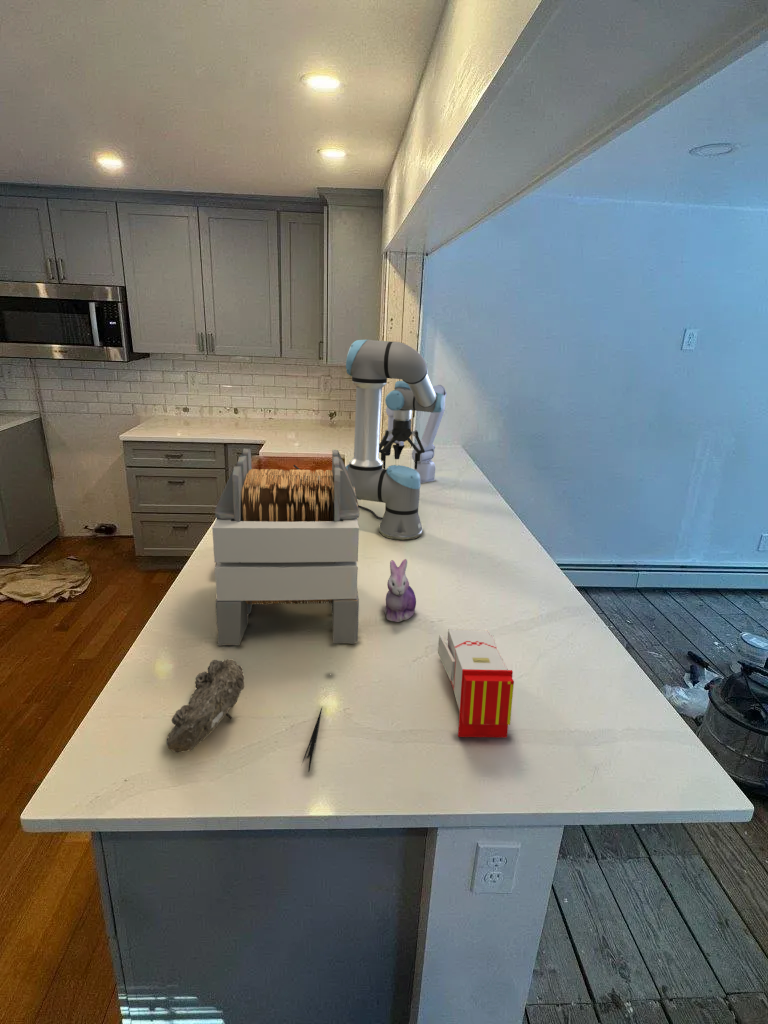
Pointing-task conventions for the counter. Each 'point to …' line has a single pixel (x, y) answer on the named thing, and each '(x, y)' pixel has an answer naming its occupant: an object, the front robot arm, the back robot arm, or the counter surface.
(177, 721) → the fossil
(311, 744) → the feather
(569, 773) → the counter surface
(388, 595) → the figurine
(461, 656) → the toy
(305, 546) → the record crate
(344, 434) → the counter surface
